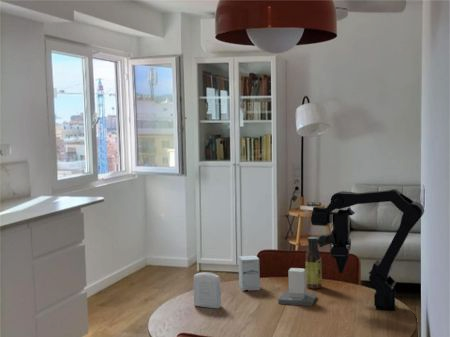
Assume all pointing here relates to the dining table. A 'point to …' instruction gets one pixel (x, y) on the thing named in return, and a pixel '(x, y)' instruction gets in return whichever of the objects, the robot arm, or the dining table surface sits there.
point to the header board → (295, 301)
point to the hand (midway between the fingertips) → (341, 269)
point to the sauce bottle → (313, 265)
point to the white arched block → (207, 290)
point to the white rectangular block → (297, 283)
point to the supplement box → (249, 273)
